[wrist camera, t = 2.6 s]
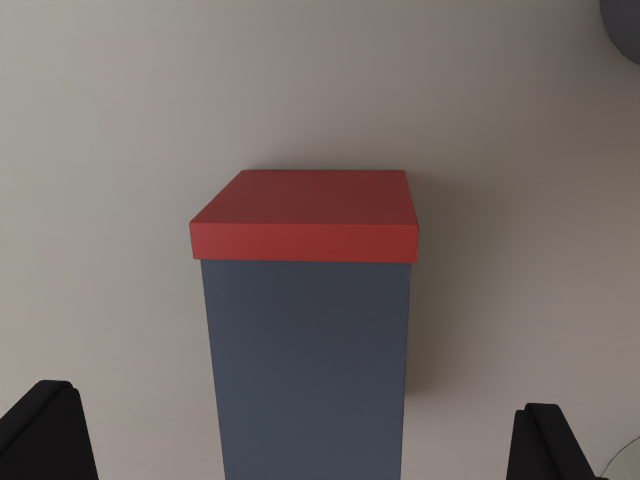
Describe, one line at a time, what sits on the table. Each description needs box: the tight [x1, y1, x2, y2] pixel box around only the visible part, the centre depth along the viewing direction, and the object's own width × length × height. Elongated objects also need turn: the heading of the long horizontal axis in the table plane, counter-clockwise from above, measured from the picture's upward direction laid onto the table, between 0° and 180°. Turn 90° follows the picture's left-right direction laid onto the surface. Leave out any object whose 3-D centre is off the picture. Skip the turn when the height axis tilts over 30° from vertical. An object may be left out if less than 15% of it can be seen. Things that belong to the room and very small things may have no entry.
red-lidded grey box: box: [189, 170, 419, 480], centre depth 20 cm, size 12×7×7 cm, turn 2°
